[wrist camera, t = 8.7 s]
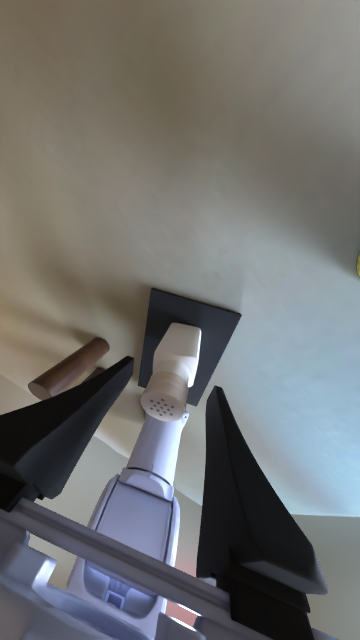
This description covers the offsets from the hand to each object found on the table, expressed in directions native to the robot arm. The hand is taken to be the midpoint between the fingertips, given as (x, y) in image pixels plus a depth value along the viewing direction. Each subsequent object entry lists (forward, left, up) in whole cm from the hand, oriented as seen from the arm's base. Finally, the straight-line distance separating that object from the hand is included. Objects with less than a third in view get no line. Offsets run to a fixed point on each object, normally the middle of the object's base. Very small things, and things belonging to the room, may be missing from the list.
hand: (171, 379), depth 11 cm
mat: (-4, 0, -8) cm, 9 cm away
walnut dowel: (-7, +13, -8) cm, 17 cm away
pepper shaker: (0, 0, -7) cm, 7 cm away
